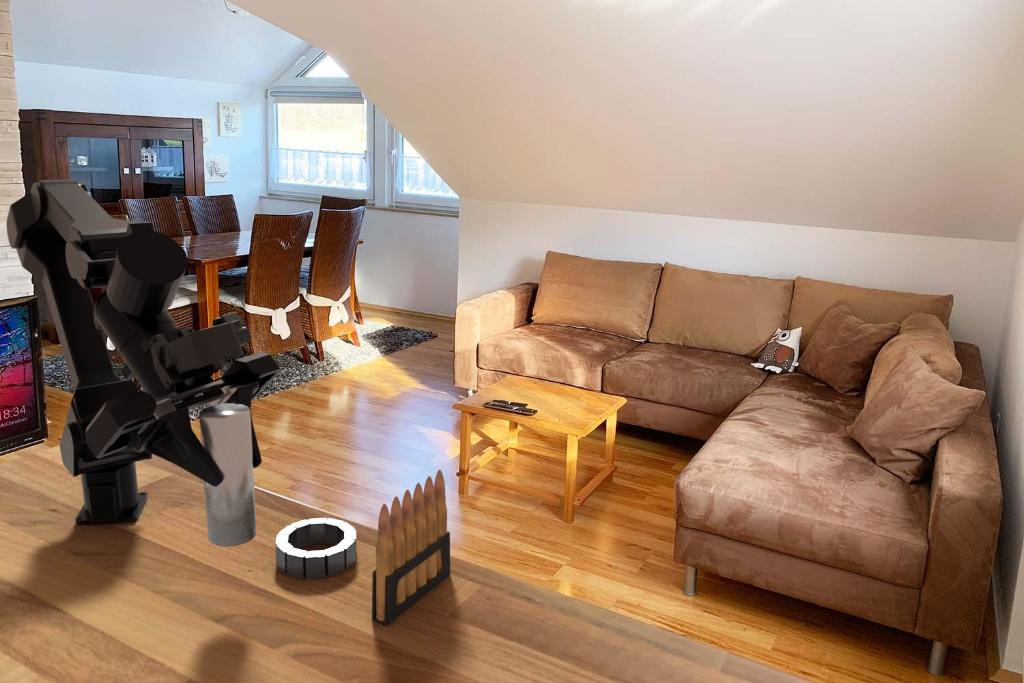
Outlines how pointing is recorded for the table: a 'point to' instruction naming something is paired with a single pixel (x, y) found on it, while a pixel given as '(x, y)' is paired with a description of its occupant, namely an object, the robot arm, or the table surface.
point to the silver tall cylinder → (229, 474)
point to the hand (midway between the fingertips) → (239, 474)
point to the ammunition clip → (410, 550)
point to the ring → (316, 561)
